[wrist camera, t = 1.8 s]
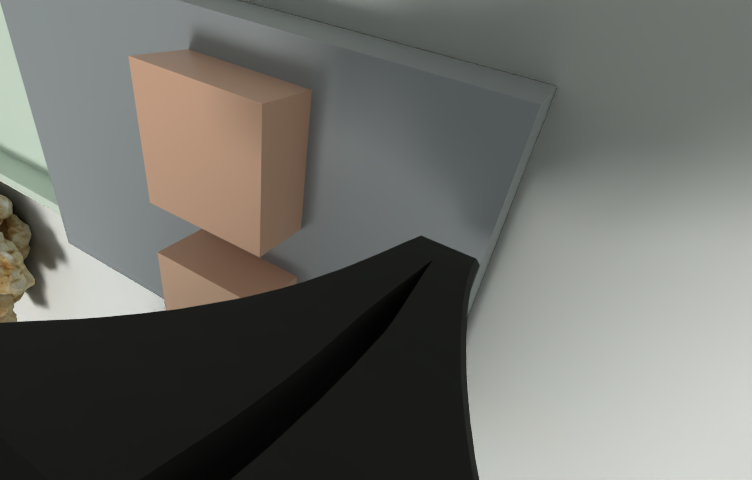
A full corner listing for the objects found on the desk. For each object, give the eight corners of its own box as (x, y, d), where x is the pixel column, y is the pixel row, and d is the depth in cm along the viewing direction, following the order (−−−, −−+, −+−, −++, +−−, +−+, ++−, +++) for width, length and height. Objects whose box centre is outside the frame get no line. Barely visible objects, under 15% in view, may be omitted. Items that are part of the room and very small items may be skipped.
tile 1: (290, 361, 18) (257, 395, 16) (208, 313, 19) (170, 341, 17) (297, 276, 15) (258, 307, 14) (201, 228, 17) (157, 252, 15)
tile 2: (300, 229, 14) (259, 257, 12) (198, 182, 15) (149, 202, 14) (311, 89, 12) (262, 103, 10) (188, 49, 13) (128, 55, 11)
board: (436, 398, 18) (412, 445, 16) (113, 223, 24) (68, 242, 22) (557, 85, 11) (541, 104, 9) (56, -50, 17) (-17, -56, 15)
